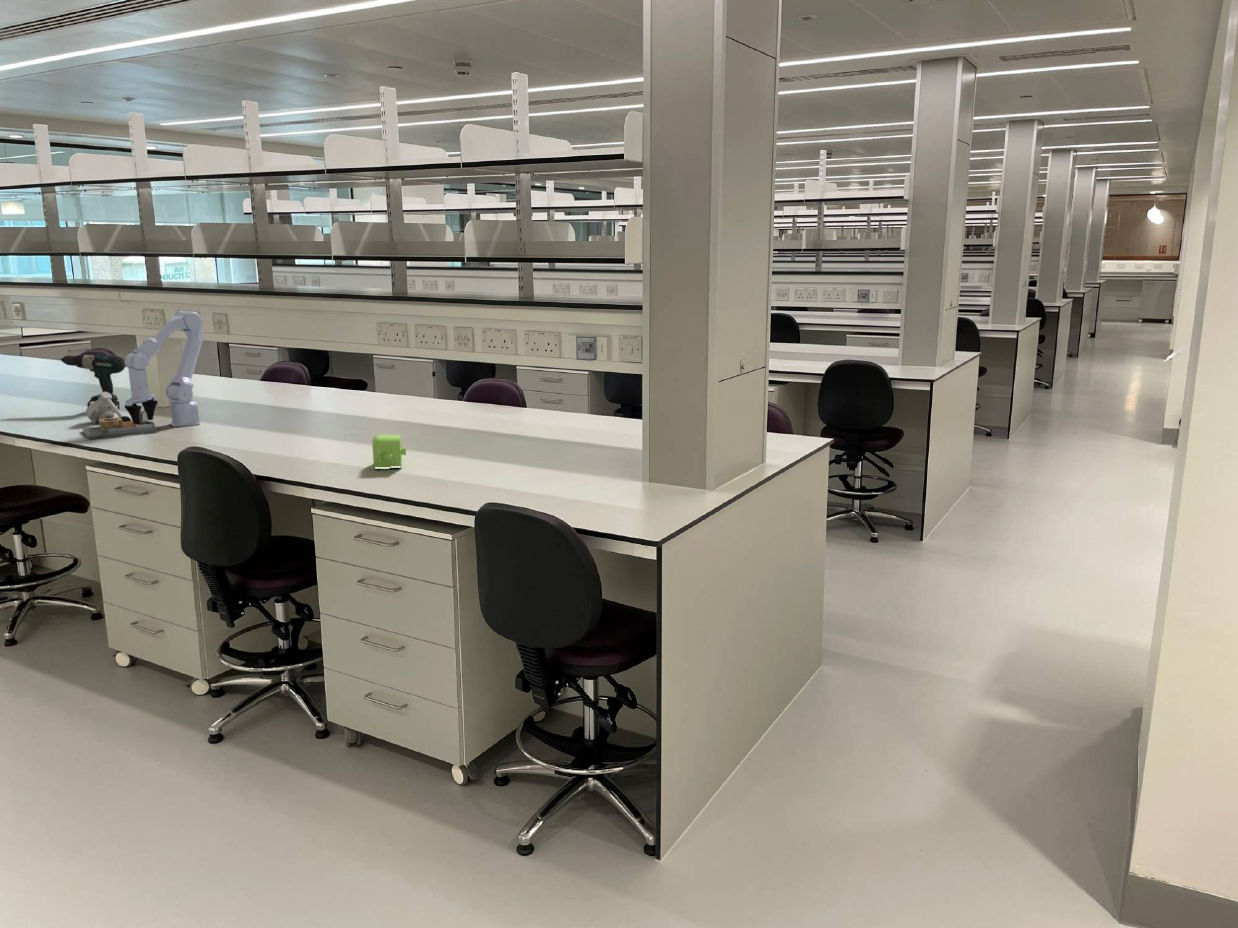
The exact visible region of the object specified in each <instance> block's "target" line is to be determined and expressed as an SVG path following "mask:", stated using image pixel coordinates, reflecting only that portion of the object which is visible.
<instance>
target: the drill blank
mask: <svg viewBox="0 0 1238 928" xmlns="http://www.w3.org/2000/svg"><path fill="white" fill-rule="evenodd" d="M148 421H149V420H148V417H147V411H145V410H140V424H148ZM140 424H139V425H140Z"/></svg>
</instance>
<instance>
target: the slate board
mask: <svg viewBox="0 0 1238 928" xmlns="http://www.w3.org/2000/svg"><path fill="white" fill-rule="evenodd" d="M155 426H156V425H155V422H153V420H148V424H140V425H139V424H136V425H135V426H133V427H122V426H113V427H107V430H102V429H101V428H100V427H99V426H94V427H84V428H82V432H83V434H84V435H85V437H87V439H88V440H89V441H91V440H99V439H108V438H109V439H110V438H118V437H119V438H120V437H128V436H137V435H148V434H157V433H158V430H157V428H156V427H155Z"/></svg>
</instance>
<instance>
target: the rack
mask: <svg viewBox="0 0 1238 928" xmlns="http://www.w3.org/2000/svg"><path fill="white" fill-rule="evenodd" d="M122 422H123V420H122V419H121V418H120V417H119V416H118V417H114V418H106V419H99V422H98V424H99V425H98V427H100V428H101V429H102V430H107V427H113V426H122Z"/></svg>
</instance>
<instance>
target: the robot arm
mask: <svg viewBox="0 0 1238 928" xmlns="http://www.w3.org/2000/svg"><path fill="white" fill-rule="evenodd" d="M203 323H204V320H203V319H202V317H201V315H200V314H199V313H198V312H196V311H194V310H193V311H190V310H189V311H187V310H182V309H181V310H177V311H175V313H174V314H173V315H171V316H170V317H169V319H168V320H167V322H166V323H165V324H164V325H163V326H162V327H161V329H159V331H158V332H156V334H155V335H154V336H153V337H151V338H150V337H148V338H146V339H143V340H142V341H141V342H142V343H141V344H140V345H139V346H138V347H137V348H135V349H134V350H133V352H132V353H129V354H127V355H126V357H125V359H124V360H125V361H124V363H125V365H126V367H127V369H128V377H129V379H128V380H129V384H130V385H129V386H130V393H131V398H129V399H128V398H127V400H126V399H125V400H124V401H125V405H124V409H125V410H126V411H127V412H128V414H129V415H130V417H131V418H130V419H131V421H133V423H134V424H140V411H142V407H143V411H147V417H148V421H153V419H154V416H155V410H156V408H157V405H158V400H156V394H154V393H153V394H150V393H149V392H150V391H149V384H148V383H149V382H148V375H147V367H148V366H149V361H151V360H152V358H154V356H155V355H156V354H157V353H158V352H159V351H161V345H162V344H163V343H164V342H165V341H166V340H167V339H169V337H171V335H172V334H174V333H175V332H176V331H180V330H183V332H184V334H185V335H186V337H187V338H186V342H185V346H184V348H183V352H182V355H181V358H180V362H179V364H178V368H177V371H176V375H175V376H174V377H172V379H171V380H170V383H169V384H168V385H167V387H165V395H166V397H167V398H168V399H169V405H170V406H169V407H170V413H171V414H170V415H171V421H170V422H169V424H170V426H172V427H175V428H177V427H184V426H185V427H186V426H195V425H201V422H200V415H199V407H198V403H197V401H196V400H192V399H193V397H194V392H193V388H194V383H193V381H192V377H193V375H194V372H195V369H196V365H197V361H198V357H199V355H200V351H201V348H202V345H203V342H204V338H205V333H204V329H203ZM138 404H141V405H138Z"/></svg>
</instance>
